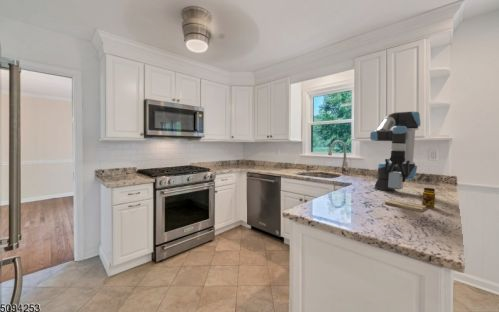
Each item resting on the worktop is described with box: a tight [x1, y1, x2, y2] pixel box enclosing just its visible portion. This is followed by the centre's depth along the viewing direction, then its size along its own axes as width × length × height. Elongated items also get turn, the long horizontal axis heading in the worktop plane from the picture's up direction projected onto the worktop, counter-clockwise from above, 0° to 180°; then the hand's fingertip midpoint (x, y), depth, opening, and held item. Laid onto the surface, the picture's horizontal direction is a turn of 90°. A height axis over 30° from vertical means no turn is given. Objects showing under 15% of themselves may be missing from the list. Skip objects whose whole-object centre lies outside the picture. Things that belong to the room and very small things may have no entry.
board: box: [384, 198, 427, 213], centre depth 139 cm, size 12×19×2 cm, turn 40°
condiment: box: [418, 187, 438, 210], centre depth 139 cm, size 7×8×12 cm
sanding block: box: [388, 171, 404, 191], centre depth 143 cm, size 8×6×10 cm
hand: (395, 185), depth 143 cm, fingers closed on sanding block, 6 cm apart
